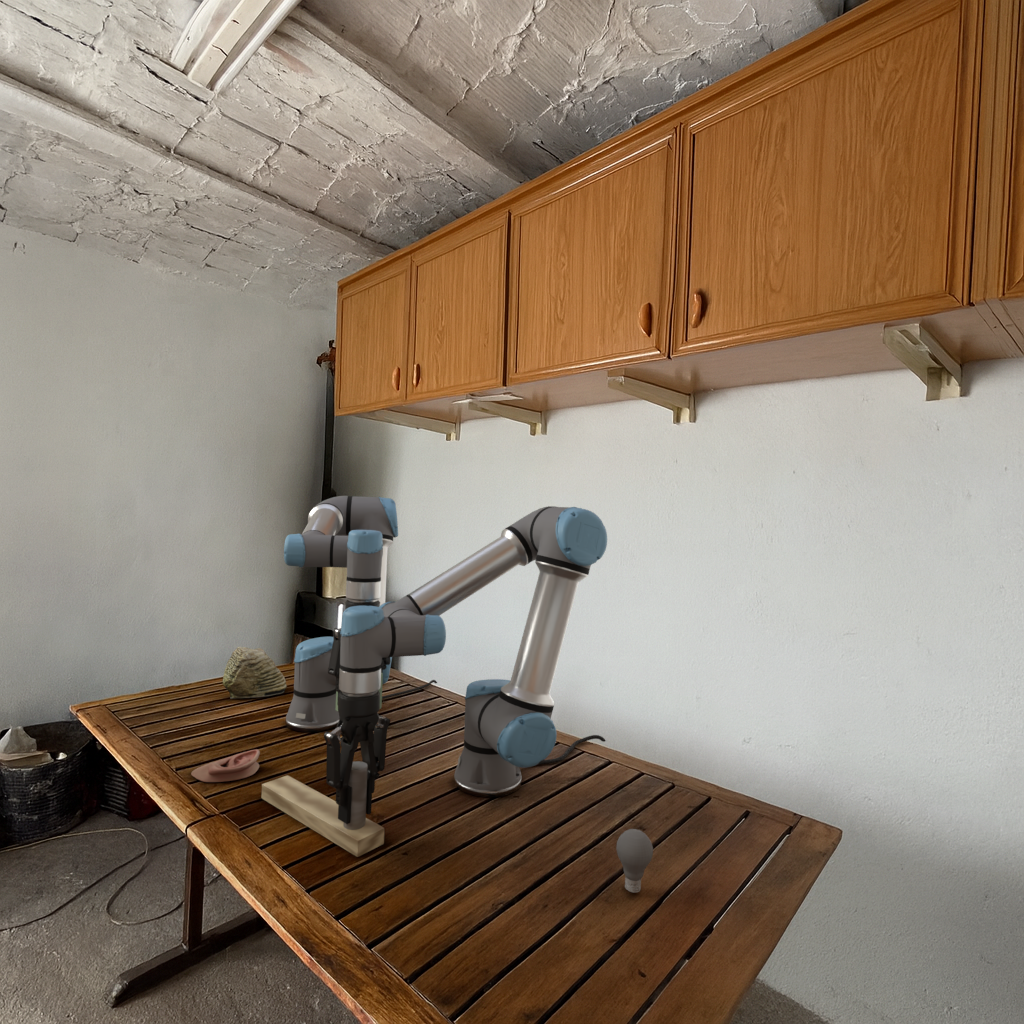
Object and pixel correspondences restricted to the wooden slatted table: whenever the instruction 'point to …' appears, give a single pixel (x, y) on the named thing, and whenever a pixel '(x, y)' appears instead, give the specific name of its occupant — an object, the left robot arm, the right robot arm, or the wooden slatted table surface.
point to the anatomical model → (229, 768)
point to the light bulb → (634, 857)
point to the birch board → (329, 811)
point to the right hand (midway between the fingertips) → (354, 815)
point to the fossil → (252, 674)
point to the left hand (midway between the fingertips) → (358, 701)
